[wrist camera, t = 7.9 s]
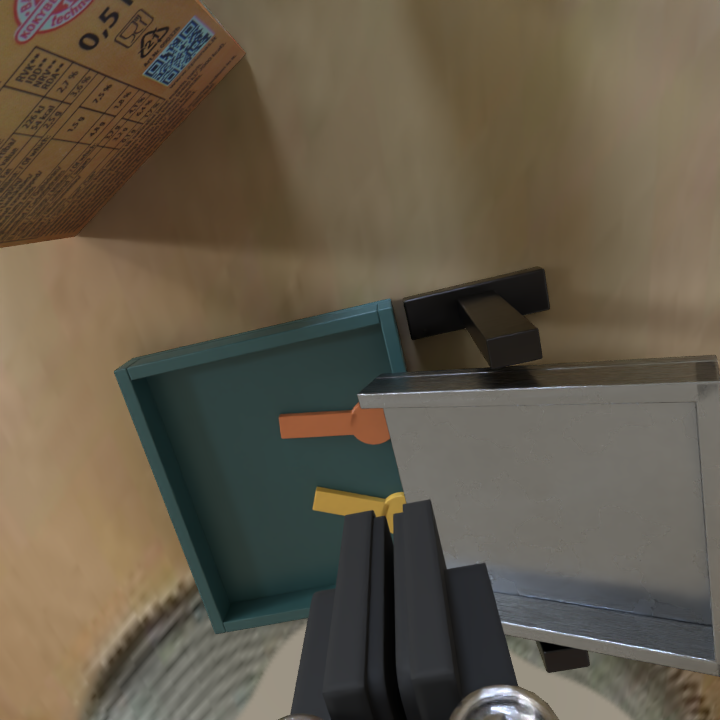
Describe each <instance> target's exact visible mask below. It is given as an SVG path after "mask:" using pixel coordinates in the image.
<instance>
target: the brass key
mask: <svg viewBox="0 0 720 720" xmlns="http://www.w3.org/2000/svg"><path fill="white" fill-rule="evenodd" d="M403 504H406V500H405V496H404V492H397V493H394V494H391V495H390V496H388V497H387V498H386V499H384V498H378V497H373V496H367V495H361V494H356V493H350V492H345V491H339V490H333V489H328V488H322V487H316V492H315V498H314V504H313V510H315V511H321V512H327V513H332V514H338V515H344V516H345V515H348V514H354V513H359V512H364V511H370V510H373V511H374V512H375V515H376V517H379V516H386V519H387V522H388V526H389V529H390V533H392V534H393V514H395V513H401V512H403Z"/></svg>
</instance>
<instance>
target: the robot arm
mask: <svg viewBox="0 0 720 720" xmlns="http://www.w3.org/2000/svg"><path fill="white" fill-rule="evenodd" d="M393 539H394V545H393V541H392V537H391V533H390V529H389V526H388V522H387V519H386V516H379V517H376V515H375V512H374V511H373V510H370V511H364V512H359V513H354V514H348V515H345V518H344V526H343V534H342V541H341V549H340V557H339V565H338V573H337V580H336V588H334V589H328V590H323V591H317V592H315V593H314V594H313V597H312V600H311V605H310V610H309V616H308V621H307V627H306V632H305V638H304V643H303V649H302V654H301V660H300V665H299V671H298V676H297V682H296V687H295V693H294V698H293V704H292V709H291V715H289V716H285V717H283V718H281V719H278V720H559V719H558V717H557V716H556V714H555V713H554V712H553V710H552V709H551V707H550V706H549V705H548V703H546V702H545V701H544V700H542V699H541V698H540V697H539V696H537V695H536V694H535V693H533V692H531V691H528V690H526V689H523V688H521V687H519V686H518V684H517V680H516V676H515V672H514V669H513V665H512V661H511V657H510V654H509V650H508V646H507V642H506V638H505V635H504V631H503V627H502V623H501V619H500V616H499V612H498V608H497V604H496V601H495V597H494V593H493V589H492V585H491V582H490V578H489V574H488V570H487V567H486V563H480V564H474V565H468V566H462V567H456V568H451V569H447V567H446V563H445V559H444V554H443V550H442V546H441V541H440V537H439V533H438V529H437V524H436V520H435V516H434V511H433V507H432V503H431V500H430V499H429V500H423V501H418V502H412V503H407V504H403V512H401V513H395V514H393Z"/></svg>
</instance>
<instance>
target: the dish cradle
mask: <svg viewBox="0 0 720 720" xmlns="http://www.w3.org/2000/svg"><path fill="white" fill-rule="evenodd" d="M403 303H404V308H405V312H406V317H407V321H408V326H409V330H410V335H411V339H412V340H416V339H420V338H425V337H429V336H434V335H438V334H443V333H447V332H452V331H456V330H460V329H465V328H466V330H467V331H468V333H469V334H470V336H471V337H472V339H473V341H474V342H475V344H476V345H477V347H478V348H479V350H480V352H481V353H482V355H483V356H484V358H485V359H486V361H487V363H488V364H489V366H490V367H491V369H496V368H501V367H506V366H510V365H515V364H520V363H524V362H529V361H533V360H538V359H542V350H541V344H540V337H539V331H538V328H536V327H535V326H534V325H533V324H532V323H531V322H530V321H528V320H527V319H526V318H525V317H524V316H523V315H527V314H532V313H536V312H541V311H545V310H549V309H550V304H549V297H548V291H547V284H546V277H545V270H544V269H543V268H541V267H534V268H530V269H525V270H521V271H517V272H512V273H508V274H504V275H499V276H495V277H491V278H487V279H482V280H478V281H474V282H469V283H465V284H461V285H456V286H452V287H448V288H443V289H439V290H435V291H431V292H426V293H422V294H418V295H413V296H409V297H405V298H403ZM536 643H537V646H538V648H539V651H540V654H541V657H542V660H543V663H544V666H545V668H546V671H547V672H548V673H551V672H557V671H564V670H570V669H576V668H582V667H588V666H589V665H590V662H589V656H588V651H586V650H581V649H576V648H571V647H566V646H561V645H556V644H551V643H546V642H541V641H536Z"/></svg>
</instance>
